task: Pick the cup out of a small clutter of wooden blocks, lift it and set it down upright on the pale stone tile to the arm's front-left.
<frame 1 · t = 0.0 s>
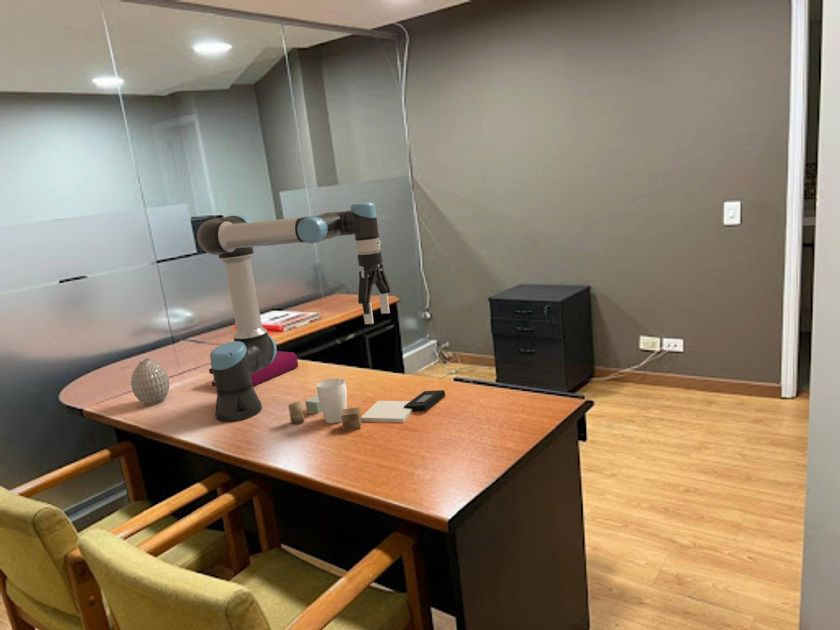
hand: (377, 318, 199), 28 cm above the table, fingers open, 13 cm apart
vhs tape: (425, 404, 198), on the table, touching tile
walnut cube: (352, 426, 187), on the table
book: (255, 378, 250), on the table
vase: (154, 403, 231), on the table
sage block: (319, 409, 205), on the table
cup: (336, 419, 194), on the table
tile: (390, 412, 194), on the table
oak cylinder: (297, 422, 195), on the table
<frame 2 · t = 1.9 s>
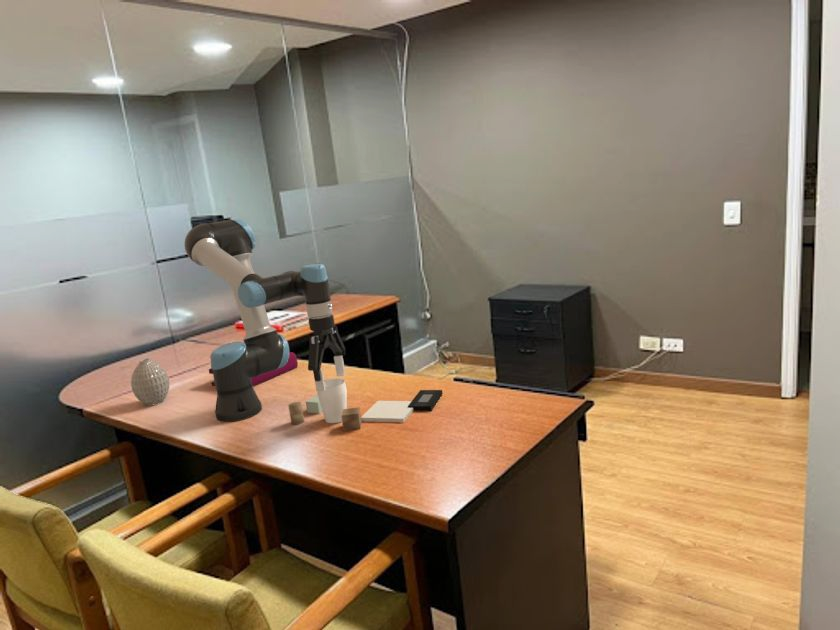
hand: (331, 383, 191), 12 cm above the table, fingers open, 13 cm apart
vhs tape: (426, 404, 199), on the table, touching tile
everything else where it was.
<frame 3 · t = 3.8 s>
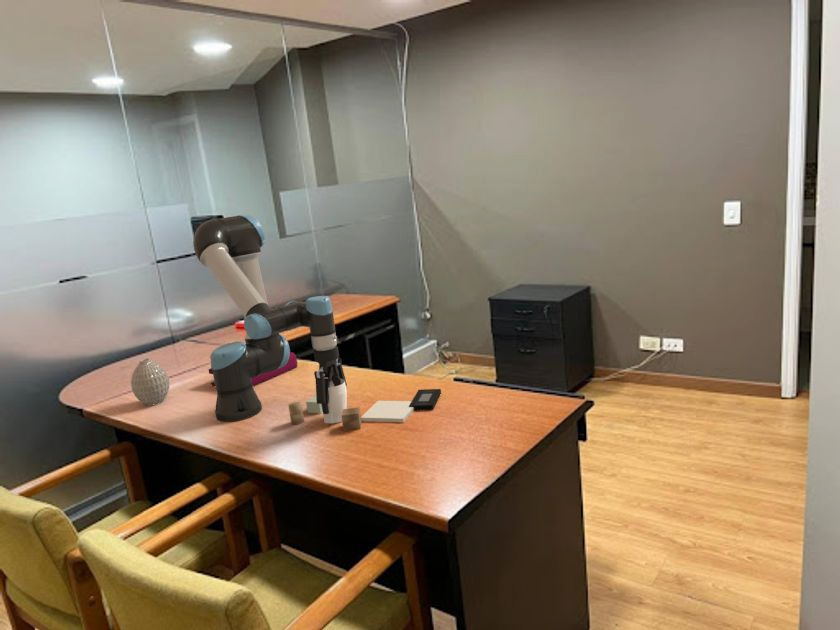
hand: (335, 416, 194), 1 cm above the table, fingers closed on cup, 9 cm apart
cup: (336, 419, 194), on the table, touching gripper
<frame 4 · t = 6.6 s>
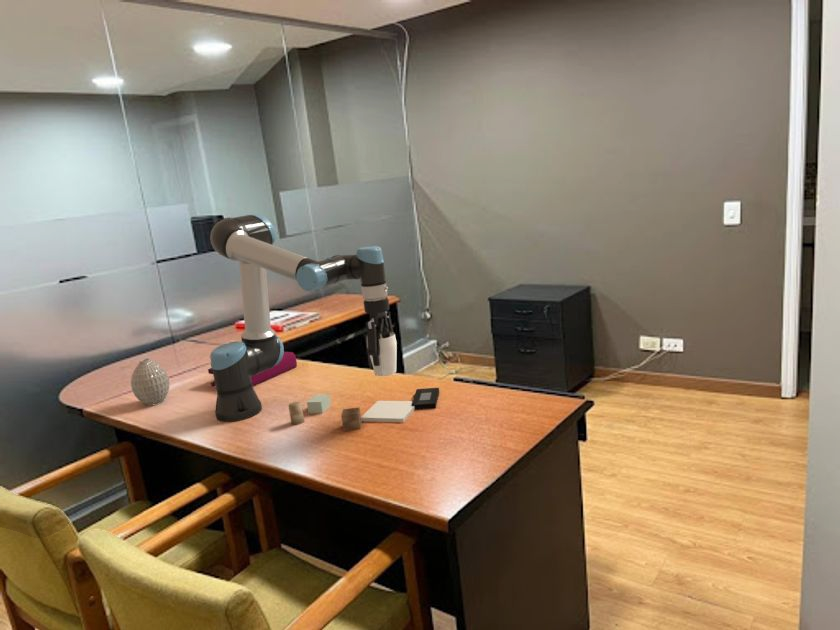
hand: (385, 370, 191), 14 cm above the table, fingers closed on cup, 9 cm apart
cup: (385, 373, 191), point 13 cm above the table, touching gripper
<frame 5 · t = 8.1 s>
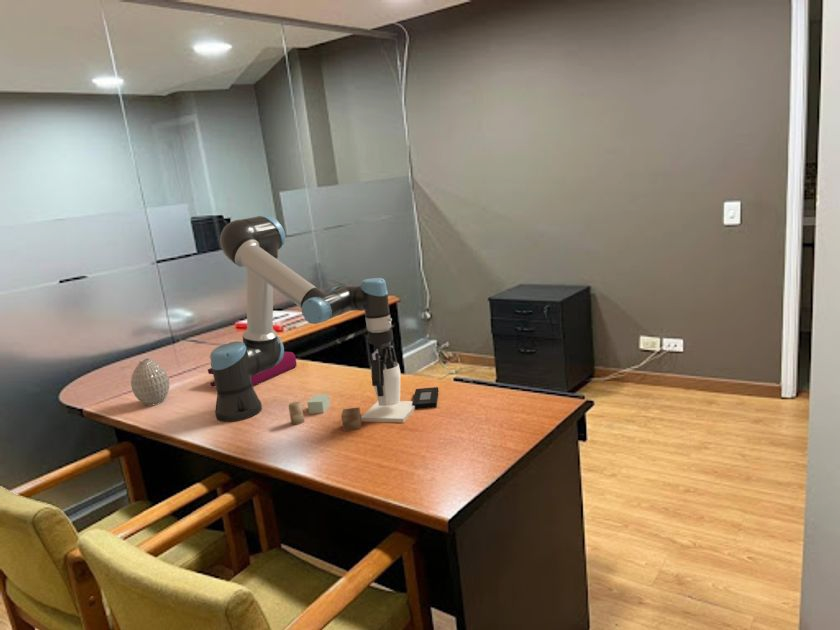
hand: (389, 399, 193), 4 cm above the table, fingers closed on cup, 9 cm apart
cup: (389, 402, 193), point 3 cm above the table, touching gripper
when the fingers open (4 cm above the table, at t = 9.3 s): cup drops 1 cm, resting on tile.
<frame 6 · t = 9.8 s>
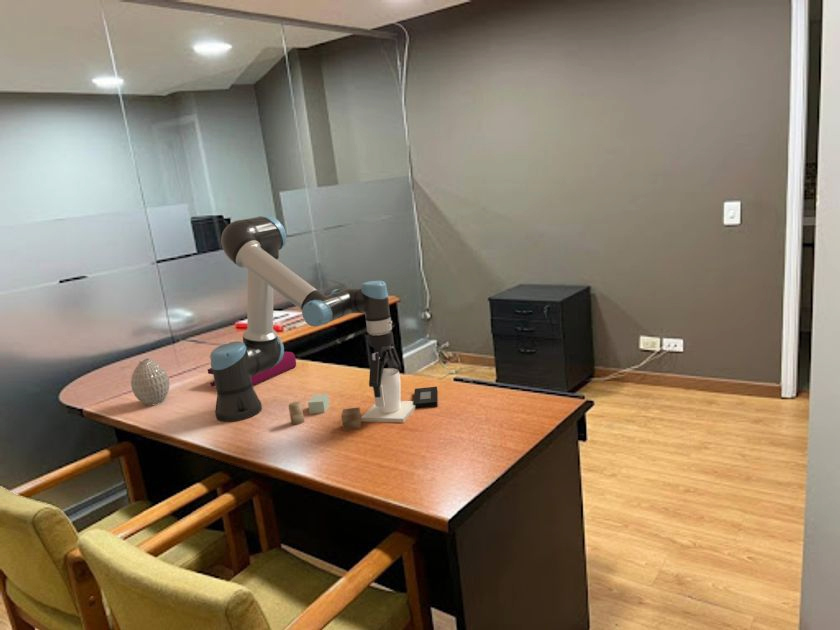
hand: (388, 398, 193), 5 cm above the table, fingers open, 13 cm apart
cup: (390, 409, 194), point 1 cm above the table, touching tile
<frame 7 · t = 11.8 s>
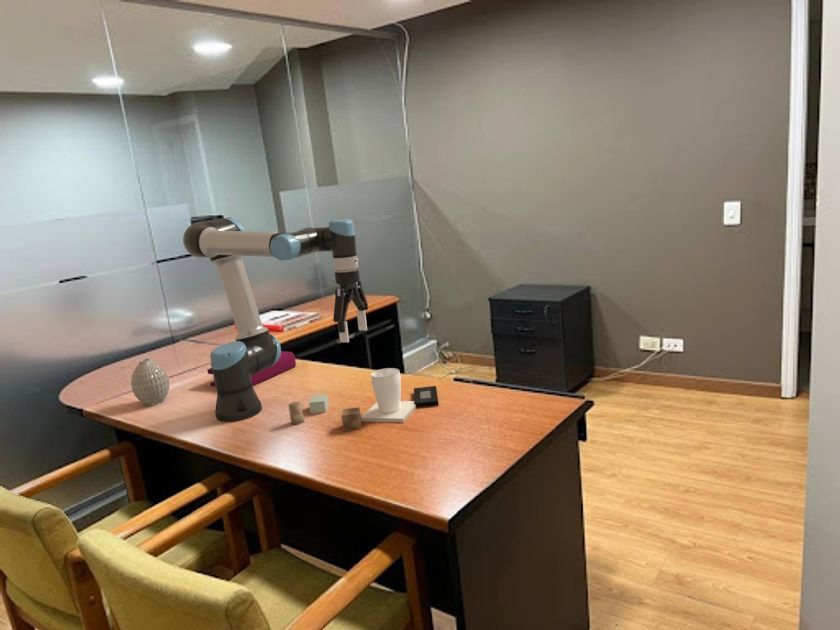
hand: (354, 336, 197), 24 cm above the table, fingers open, 13 cm apart
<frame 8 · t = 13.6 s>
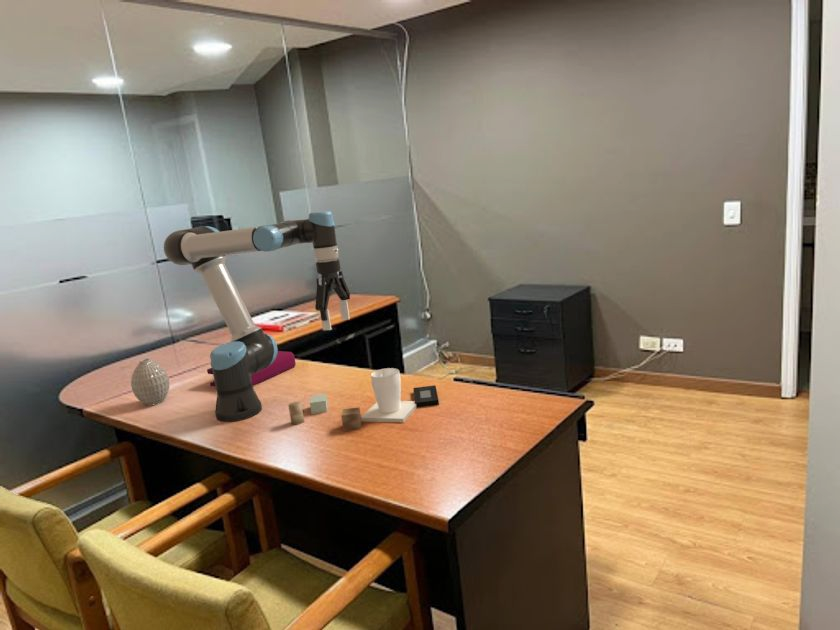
hand: (336, 324, 203), 27 cm above the table, fingers open, 13 cm apart
at the end: cup inside the target area on the tile (0.0 cm from its centre), point 1.0 cm above the tile's base; cup tilted 0°; cup touching tile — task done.
